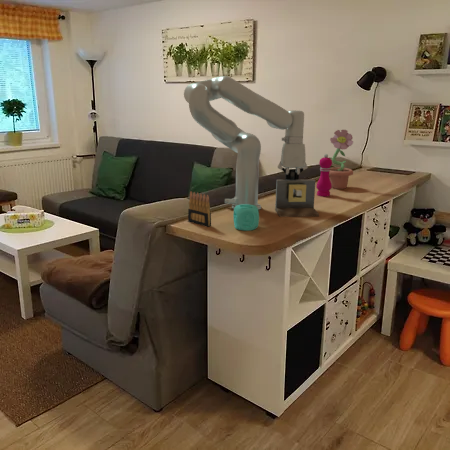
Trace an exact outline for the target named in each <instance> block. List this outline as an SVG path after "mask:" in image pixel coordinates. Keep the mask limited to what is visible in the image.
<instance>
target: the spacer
mask: <svg viewBox="0 0 450 450" xmlns="http://www.w3.org/2000/svg"><path fill="white" fill-rule="evenodd" d="M293 189H301V191H302V195H301V197H293ZM305 200H306V184H289V189H288V202H305Z"/></svg>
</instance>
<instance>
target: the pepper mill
mask: <svg viewBox="0 0 450 450" xmlns="http://www.w3.org/2000/svg"><path fill="white" fill-rule="evenodd" d="M330 158H331V157H329V155H328V154H327V153H325V154H324V157H321V158H320V159H319V162H318V165H319V166H320V168H319V171H320V176H319V178H318V181H317V182H316V185H315V188H316V189H317V191H316V192H317V193H316V196H318V197H330V196H331V192H330V191H331V189H333V188H332V184H331V181H330V175H329V172H330V169H331V168H332V165H333V162H332V159H330Z"/></svg>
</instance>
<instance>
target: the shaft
mask: <svg viewBox="0 0 450 450" xmlns="http://www.w3.org/2000/svg"><path fill="white" fill-rule="evenodd" d="M295 174H296V168H289V175H290V178H289V180H295ZM293 192H294V194H295V195H296V196H301V195H302V191H301V190H300V189H293Z"/></svg>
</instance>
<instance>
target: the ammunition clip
mask: <svg viewBox="0 0 450 450" xmlns="http://www.w3.org/2000/svg"><path fill="white" fill-rule="evenodd" d="M188 200H189V201H188V211H187V213H188V214H187V218H188V219H187V222H189V223H192V224H196V225H199V226H203V227H206V228H208V227H209V228H210V227H211V226H212V213H211V206H210V205H211V204H210V196H209V195H208V194H205V193H203V194H202V193H199V192H198V191H197V193H196V191H190V192H189V199H188Z"/></svg>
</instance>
